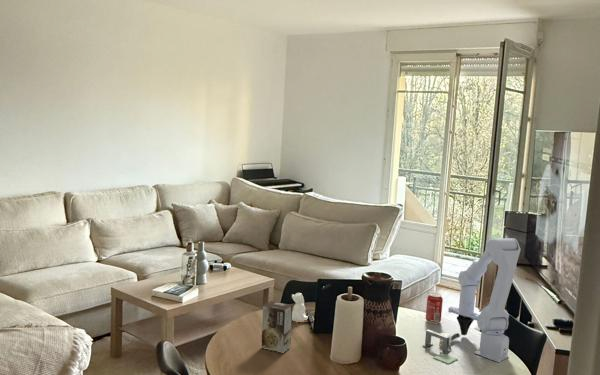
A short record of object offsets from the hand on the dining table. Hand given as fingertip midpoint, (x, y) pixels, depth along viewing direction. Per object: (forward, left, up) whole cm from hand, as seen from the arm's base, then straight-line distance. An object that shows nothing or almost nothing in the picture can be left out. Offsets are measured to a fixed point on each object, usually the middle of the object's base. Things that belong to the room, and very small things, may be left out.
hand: (463, 334), depth 219 cm
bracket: (0, +20, -1) cm, 20 cm away
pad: (-7, +25, -1) cm, 26 cm away
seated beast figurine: (+51, +42, -1) cm, 66 cm away
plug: (0, +11, -1) cm, 11 cm away
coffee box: (+36, +68, -1) cm, 77 cm away
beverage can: (+17, -4, -1) cm, 18 cm away
